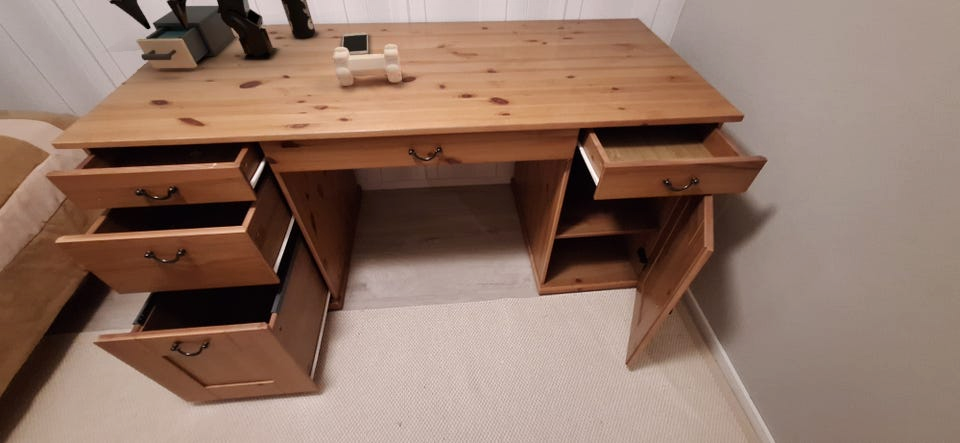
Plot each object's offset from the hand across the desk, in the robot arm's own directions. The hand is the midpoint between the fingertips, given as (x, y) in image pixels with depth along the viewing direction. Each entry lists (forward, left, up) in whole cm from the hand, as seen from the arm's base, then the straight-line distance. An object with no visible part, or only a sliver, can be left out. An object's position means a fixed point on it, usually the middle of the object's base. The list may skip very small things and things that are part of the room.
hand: (168, 28), depth 95 cm
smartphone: (-43, -9, -9) cm, 45 cm away
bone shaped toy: (-51, +13, -9) cm, 53 cm away
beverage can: (-26, -18, -9) cm, 33 cm away
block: (0, 0, -6) cm, 6 cm away
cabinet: (0, -10, -8) cm, 14 cm away
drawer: (0, +1, -8) cm, 8 cm away
